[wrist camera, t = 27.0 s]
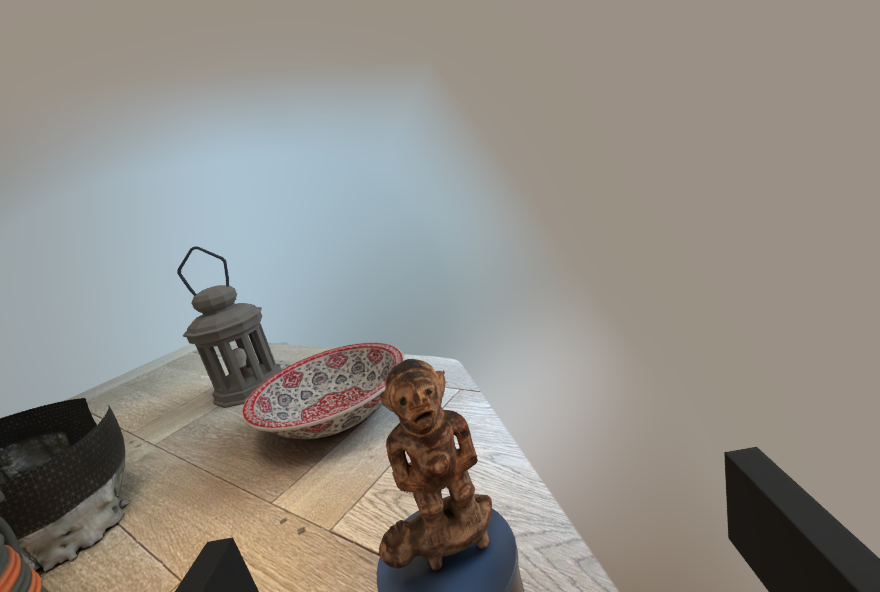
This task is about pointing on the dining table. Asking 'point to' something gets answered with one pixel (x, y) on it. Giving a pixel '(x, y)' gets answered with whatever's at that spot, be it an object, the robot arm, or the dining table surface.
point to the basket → (60, 479)
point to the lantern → (225, 326)
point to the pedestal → (461, 567)
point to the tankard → (15, 563)
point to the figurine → (431, 471)
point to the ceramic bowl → (322, 392)
